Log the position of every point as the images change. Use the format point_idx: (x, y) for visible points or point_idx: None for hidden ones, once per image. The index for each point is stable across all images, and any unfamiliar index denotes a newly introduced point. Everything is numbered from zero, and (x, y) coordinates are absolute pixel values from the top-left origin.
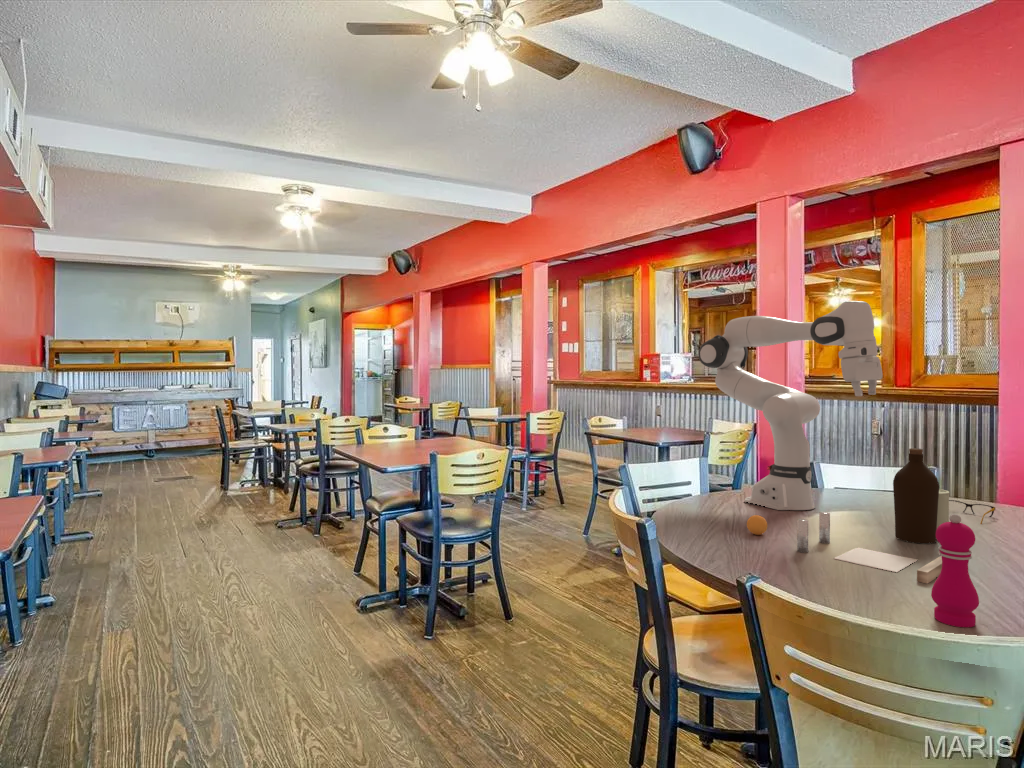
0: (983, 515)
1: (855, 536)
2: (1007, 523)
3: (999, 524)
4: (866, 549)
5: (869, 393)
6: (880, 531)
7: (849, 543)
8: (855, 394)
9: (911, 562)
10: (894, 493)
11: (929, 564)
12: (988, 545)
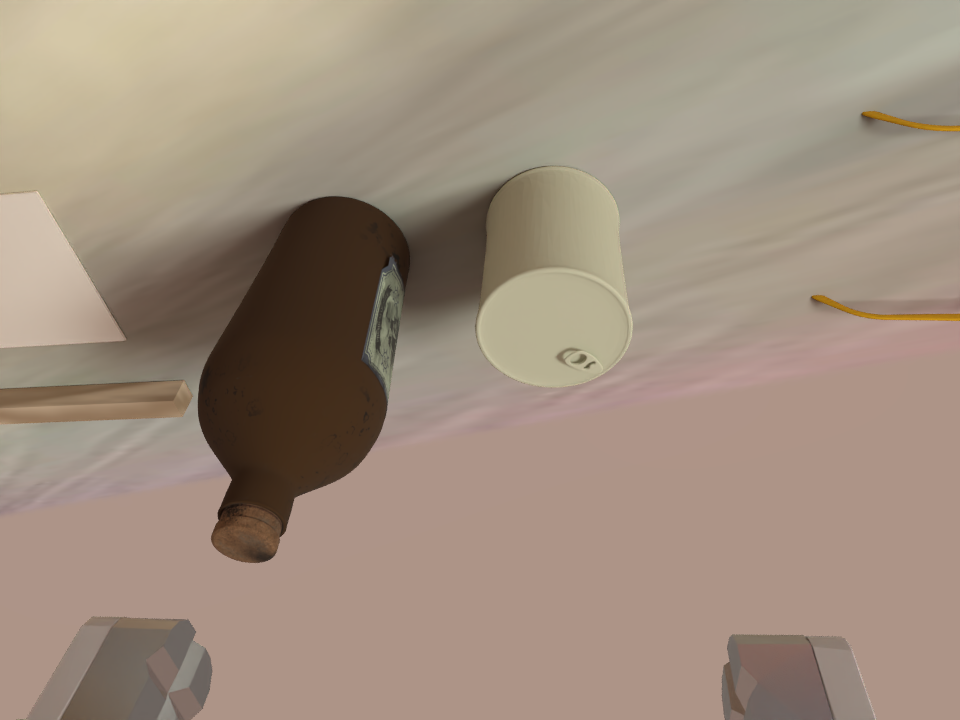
0: (857, 315)
1: (164, 106)
2: (895, 343)
3: (853, 333)
4: (51, 221)
5: (738, 668)
6: (339, 126)
7: (56, 144)
8: (75, 646)
9: (84, 340)
10: (235, 317)
11: (33, 410)
12: (478, 386)
